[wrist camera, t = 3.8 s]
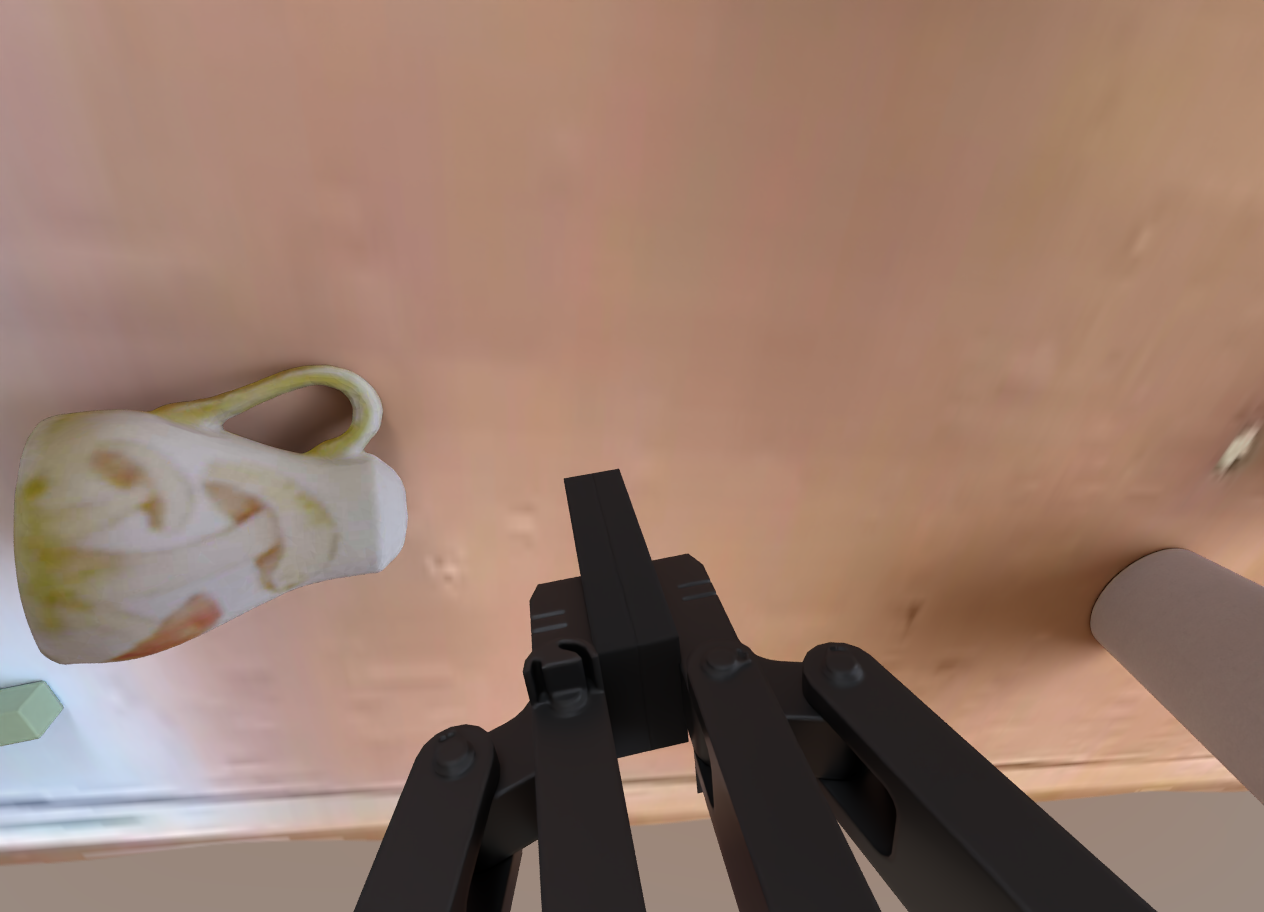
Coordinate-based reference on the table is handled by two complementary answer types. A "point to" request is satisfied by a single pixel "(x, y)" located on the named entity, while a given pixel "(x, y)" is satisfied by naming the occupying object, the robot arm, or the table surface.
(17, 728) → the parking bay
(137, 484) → the mug
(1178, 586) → the coffee cup
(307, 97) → the table surface
